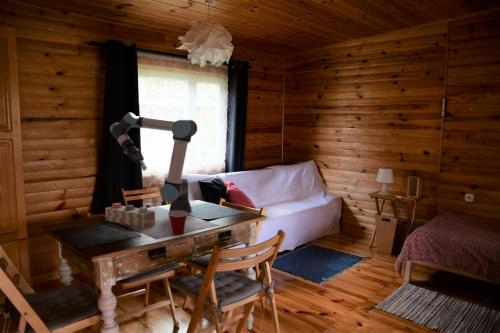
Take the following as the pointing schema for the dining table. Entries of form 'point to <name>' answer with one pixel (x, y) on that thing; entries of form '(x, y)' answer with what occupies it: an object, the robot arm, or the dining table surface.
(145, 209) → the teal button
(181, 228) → the plastic cup
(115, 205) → the red button
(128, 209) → the grey button
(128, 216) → the control box
